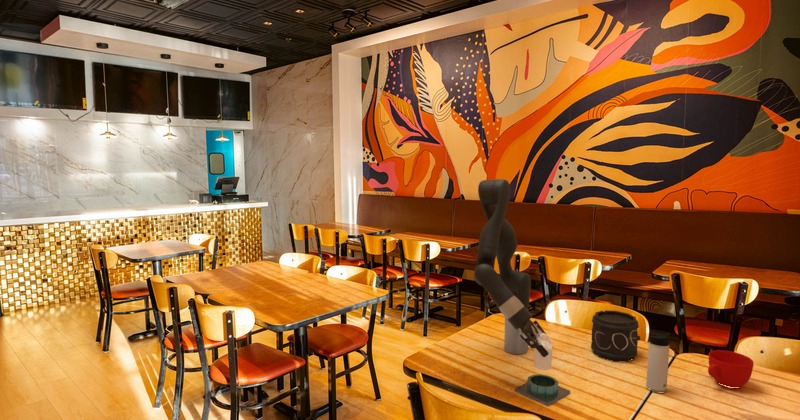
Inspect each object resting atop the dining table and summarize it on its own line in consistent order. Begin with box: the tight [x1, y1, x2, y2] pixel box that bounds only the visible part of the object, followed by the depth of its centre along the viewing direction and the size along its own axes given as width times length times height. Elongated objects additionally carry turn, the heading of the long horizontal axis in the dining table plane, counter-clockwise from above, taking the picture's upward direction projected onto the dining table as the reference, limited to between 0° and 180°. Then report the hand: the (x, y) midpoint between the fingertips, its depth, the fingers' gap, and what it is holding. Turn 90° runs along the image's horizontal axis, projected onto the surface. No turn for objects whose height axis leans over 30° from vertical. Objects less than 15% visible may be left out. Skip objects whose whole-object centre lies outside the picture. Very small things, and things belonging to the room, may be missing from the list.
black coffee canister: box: [590, 309, 641, 362], centre depth 196 cm, size 18×18×16 cm
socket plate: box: [514, 374, 571, 407], centre depth 165 cm, size 13×13×4 cm
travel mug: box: [645, 331, 672, 393], centre depth 166 cm, size 6×7×20 cm
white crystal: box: [533, 332, 554, 371], centre depth 163 cm, size 6×12×6 cm
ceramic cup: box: [707, 349, 754, 388], centre depth 169 cm, size 13×17×10 cm
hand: (548, 352), depth 162 cm, fingers closed on white crystal, 5 cm apart
